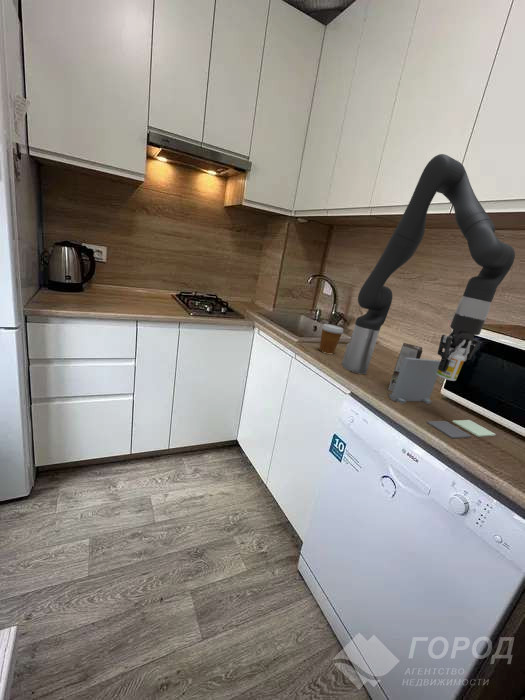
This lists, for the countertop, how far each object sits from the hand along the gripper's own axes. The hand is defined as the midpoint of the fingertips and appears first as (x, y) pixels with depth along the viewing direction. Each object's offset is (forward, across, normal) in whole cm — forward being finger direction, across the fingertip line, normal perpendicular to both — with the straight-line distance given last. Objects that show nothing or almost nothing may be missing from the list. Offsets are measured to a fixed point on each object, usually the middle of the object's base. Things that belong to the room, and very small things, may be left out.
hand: (448, 371), depth 97 cm
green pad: (+14, -6, +9) cm, 18 cm away
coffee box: (+14, -3, -16) cm, 22 cm away
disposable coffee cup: (+15, +1, -56) cm, 57 cm away
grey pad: (+14, +5, +9) cm, 17 cm away
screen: (+14, 0, -9) cm, 16 cm away
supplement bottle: (+2, 0, 0) cm, 2 cm away
